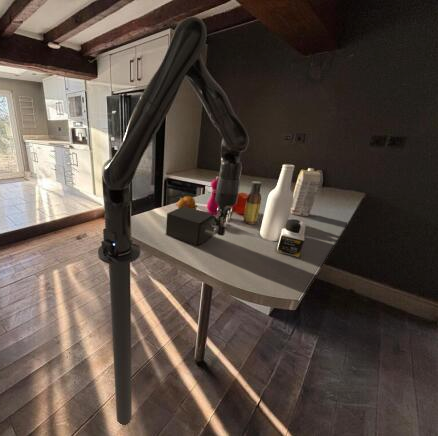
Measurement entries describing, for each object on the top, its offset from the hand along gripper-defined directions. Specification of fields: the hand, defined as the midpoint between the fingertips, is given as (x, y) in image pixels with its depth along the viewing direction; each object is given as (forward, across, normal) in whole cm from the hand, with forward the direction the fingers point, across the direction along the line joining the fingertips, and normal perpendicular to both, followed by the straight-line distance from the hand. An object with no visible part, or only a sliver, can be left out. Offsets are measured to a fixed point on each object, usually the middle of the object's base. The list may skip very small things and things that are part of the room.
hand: (220, 234), depth 88 cm
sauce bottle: (+5, -32, +1) cm, 33 cm away
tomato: (+5, -43, -8) cm, 44 cm away
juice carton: (+5, -63, +17) cm, 66 cm away
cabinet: (+5, 0, -14) cm, 15 cm away
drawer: (+4, 0, -10) cm, 11 cm away
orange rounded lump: (+5, -22, -28) cm, 36 cm away
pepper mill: (+5, -30, -17) cm, 35 cm away
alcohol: (+5, -22, +13) cm, 26 cm away
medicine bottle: (+5, -14, +21) cm, 26 cm away
